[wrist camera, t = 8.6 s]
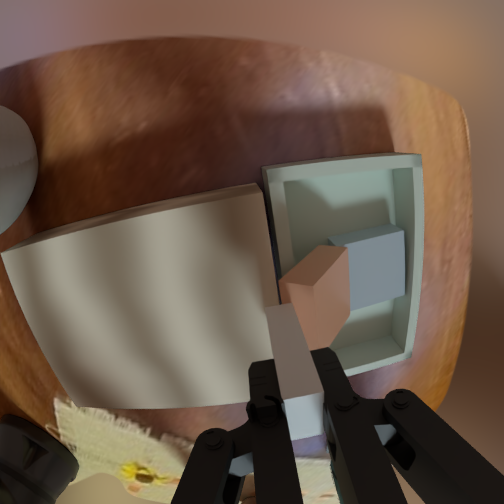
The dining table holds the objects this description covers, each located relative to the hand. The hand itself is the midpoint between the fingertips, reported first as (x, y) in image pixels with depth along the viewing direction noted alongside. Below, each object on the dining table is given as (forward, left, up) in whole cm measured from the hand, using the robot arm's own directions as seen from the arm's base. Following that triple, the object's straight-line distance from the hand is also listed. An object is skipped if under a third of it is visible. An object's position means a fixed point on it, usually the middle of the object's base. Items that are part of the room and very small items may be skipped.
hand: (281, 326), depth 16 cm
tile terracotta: (+2, 0, -3) cm, 3 cm away
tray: (+6, 0, -6) cm, 9 cm away
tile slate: (+7, 0, -4) cm, 8 cm away
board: (-9, 0, -6) cm, 11 cm away
